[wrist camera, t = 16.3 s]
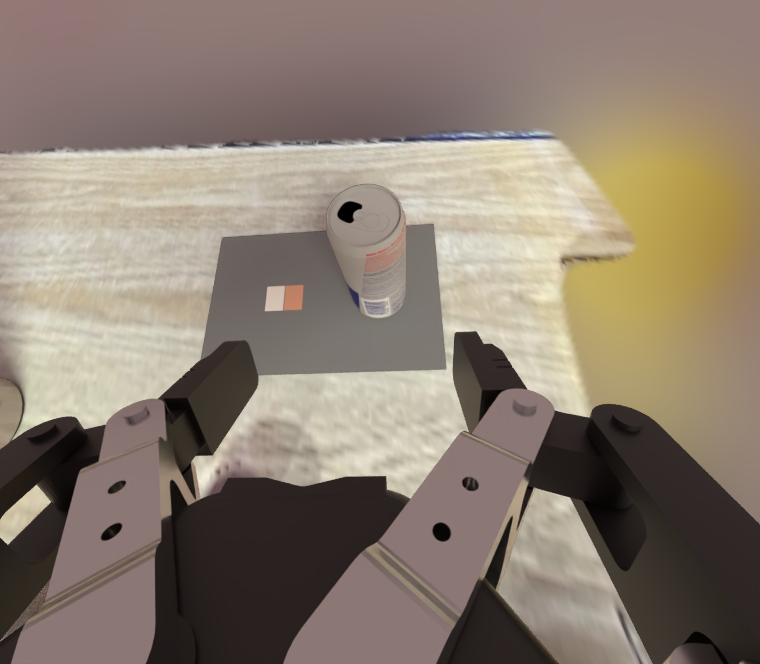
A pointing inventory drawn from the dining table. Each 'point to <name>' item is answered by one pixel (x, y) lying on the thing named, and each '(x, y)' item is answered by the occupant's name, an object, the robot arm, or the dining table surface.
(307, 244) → the mat
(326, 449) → the dining table surface
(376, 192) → the energy drink
